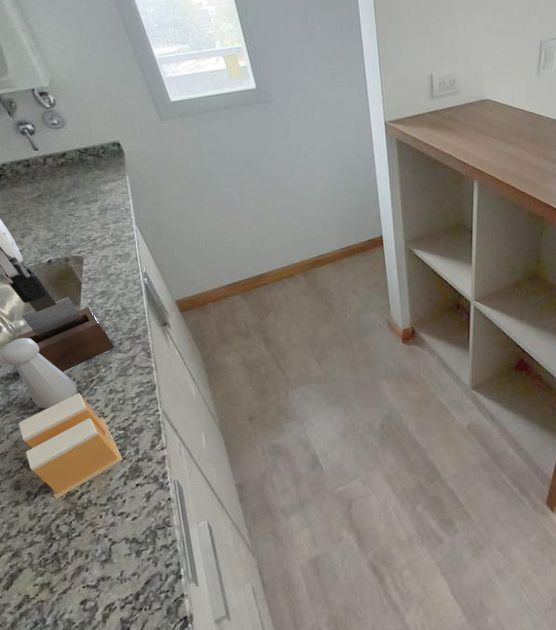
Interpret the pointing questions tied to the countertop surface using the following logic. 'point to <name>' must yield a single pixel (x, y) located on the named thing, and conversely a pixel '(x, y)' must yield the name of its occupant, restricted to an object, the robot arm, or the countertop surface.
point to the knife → (51, 315)
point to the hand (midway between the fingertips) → (33, 294)
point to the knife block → (74, 343)
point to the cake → (64, 428)
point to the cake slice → (71, 455)
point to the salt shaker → (38, 373)
